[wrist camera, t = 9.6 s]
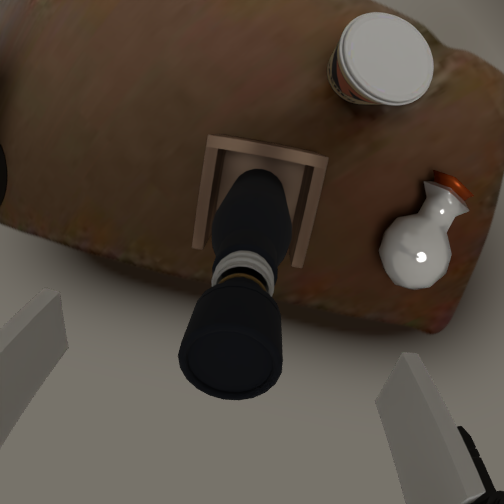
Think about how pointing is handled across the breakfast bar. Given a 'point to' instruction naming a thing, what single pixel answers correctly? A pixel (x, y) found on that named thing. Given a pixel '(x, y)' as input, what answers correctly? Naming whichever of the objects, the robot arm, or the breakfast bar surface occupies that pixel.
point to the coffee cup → (380, 61)
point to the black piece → (241, 294)
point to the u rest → (271, 159)
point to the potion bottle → (424, 235)
